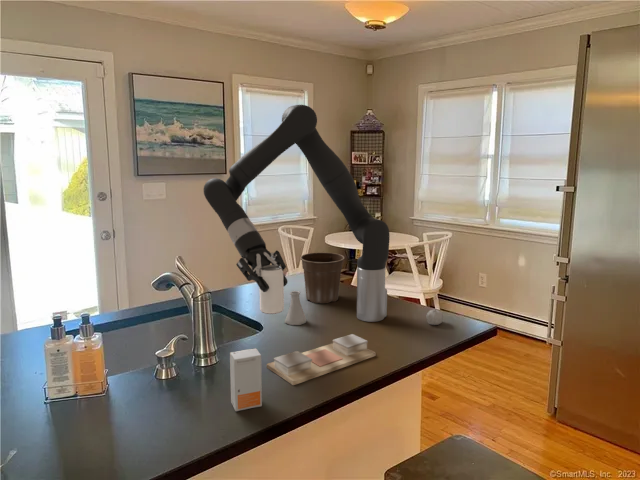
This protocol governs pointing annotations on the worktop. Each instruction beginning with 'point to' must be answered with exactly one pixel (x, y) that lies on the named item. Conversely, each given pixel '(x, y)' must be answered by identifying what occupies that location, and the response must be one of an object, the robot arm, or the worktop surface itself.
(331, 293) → the plant pot
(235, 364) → the skincare box
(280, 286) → the can
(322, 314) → the worktop surface
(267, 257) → the robot arm
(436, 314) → the garlic
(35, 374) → the worktop surface
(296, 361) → the tray with two blocks
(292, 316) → the flask
